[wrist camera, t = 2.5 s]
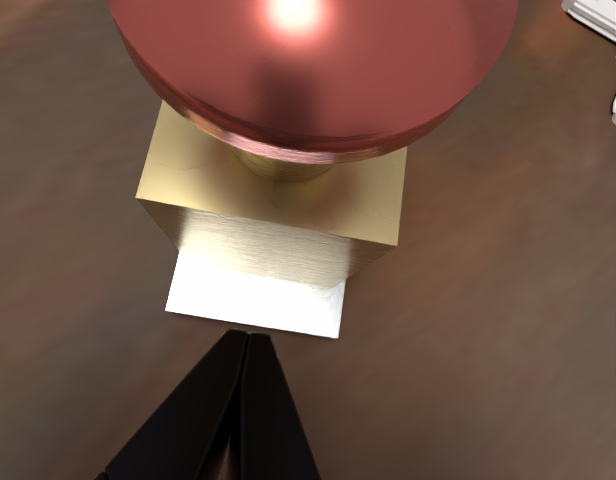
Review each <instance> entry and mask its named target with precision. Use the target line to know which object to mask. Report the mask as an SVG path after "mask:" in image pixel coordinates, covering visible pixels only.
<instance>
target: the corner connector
mask: <svg viewBox="0 0 616 480" xmlns="http://www.w3.org/2000/svg"><path fill="white" fill-rule="evenodd" d="M561 7H562V9H563V10H564V11H566V12H567V13H569V14H570V15H572V16H573V17H574V18H575V19H577V20H578V21H580V22H582V23H584V24H585V25H587V26H589V27H590V28H592V29H594V30H596V31H597V32H599V33H601V34H602V35H604V36H606V37H607V38H609V39H611V40H613V41H614V42H616V2H614V1H613V0H563V2H562V4H561ZM615 58H616V57H615ZM612 112H614V113H613V116H612V121H613V123H614V124H615V125H616V97H615V100H614V102H613V111H612Z"/></svg>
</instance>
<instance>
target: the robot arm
mask: <svg viewBox="0 0 616 480" xmlns="http://www.w3.org/2000/svg"><path fill="white" fill-rule="evenodd" d="M248 336H249V337H248ZM231 428H232V429H231ZM230 433H231V435H230ZM229 438H230V441H229ZM228 442H229V449H228V460H227V474H226V480H321V477H320V475H319V472H318V469H317V466H316V463H315V460H314V457H313V455H312V452H311V449H310V446H309V443H308V440H307V438H306V435H305V432H304V429H303V426H302V423H301V420H300V418H299V415H298V412H297V409H296V406H295V403H294V400H293V398H292V395H291V392H290V389H289V386H288V383H287V381H286V378H285V375H284V372H283V369H282V366H281V363H280V361H279V358H278V355H277V352H276V349H275V346H274V343H273V341H272V338H271V336H270V335H269V334H265V333H259V332H250V334H249V333H248V331H246V330H240V329H234V328H229V329H227V330H226V331H225V332H224V333H223V335H222V336H221V337H220V338H219V339H218V340H217V341H216V343H215V344H214V345H213V346H212V347H211V348H210V349H209V350H208V352H207V353H206V354H205V355H204V356H203V357H202V358H201V360H200V361H199V362H198V363H197V364H196V365H195V366H194V367H193V369H192V370H191V371H190V372H189V373H188V374H187V375H186V377H185V378H184V379H183V380H182V381H181V382H180V383H179V384H178V386H177V387H176V388H175V389H174V390H173V391H172V392H171V394H170V395H169V396H168V397H167V398H166V399H165V400H164V401H163V403H162V404H161V405H160V406H159V407H158V408H157V409H156V410H155V412H154V413H153V414H152V415H151V416H150V417H149V418H148V420H147V421H146V422H145V423H144V424H143V425H142V426H141V427H140V429H139V430H138V431H137V432H136V433H135V434H134V435H133V437H132V438H131V439H130V440H129V441H128V442H127V443H126V444H125V446H124V447H123V448H122V449H121V450H120V451H119V452H118V454H117V455H116V456H115V457H114V458H113V459H112V460H111V461H110V463H109V464H108V465H107V466H106V467H105V472H101V473H100V474H99V475H98V476H97V477H96V478H95V479H94V480H217V479H218V476H219V473H220V470H221V466H222V463H223V460H224V457H225V453H226V450H227V446H228Z"/></svg>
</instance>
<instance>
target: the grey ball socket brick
mask: <svg viewBox="0 0 616 480" xmlns="http://www.w3.org/2000/svg"><path fill="white" fill-rule="evenodd" d="M345 281H346V280H344V281H343V282H341V283H340V284H338V285H337V286H335V287H334V288H330V287H324V286H318V285H313V284H307V283H301V282H295V281H290V280H284V279H278V278H272V277H266V276H261V275H255V274H249V273H243V272H238V271H232V270H226V269H220V268H215V267H209V266H203V265H197V264H192V263H189V262H188V261H187V259H186V258H185V257H184V256H183V255H182V253H181V252H180V253H179V257H178V261H177V265H176V269H175V273H174V278H173V282H172V286H171V290H170V294H169V298H168V302H167V307H166V311H169V312H172V313H177V314H183V315H189V316H195V317H201V318H208V319H214V320H220V321H226V322H232V323H238V324H244V325H251V326H257V327H263V328H269V329H275V330H281V331H288V332H294V333H300V334H306V335H312V336H318V337H324V338H331V339H335V338H338V334H339V326H340V319H341V311H342V304H343V296H344V288H345Z"/></svg>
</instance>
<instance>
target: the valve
mask: <svg viewBox="0 0 616 480" xmlns="http://www.w3.org/2000/svg"><path fill="white" fill-rule="evenodd" d="M105 1H106V3H107V5H108V8H109V10H110V12H111V15H112V17H113V19H114V21H115V24H116V26H117V28H118V31H119V33H120V35H121V38H122V40H123V42H124V44H125V47H126V49H127V51H128V54H129V55H130V57H131V58H132V60H133V62H134V63H135V65H136V67H137V68H138V70H139V72H140V73H141V75H142V76H143V77H144V78H145V80H146V81H147V82H148V83H149V84H150V86H151V87H152V88H153V89H154V91H155V92H156V93H157V94H158V95H159V96H160V97H161V98H162V99H163V101H162V105H161V109H160V112H159V116H158V119H157V123H156V126H155V130H154V134H153V137H152V141H151V144H150V148H149V152H148V155H147V159H146V162H145V166H144V170H143V173H142V177H141V180H140V184H139V188H138V191H137V195H136V198H137V200H138V201H139V202H140V203H141V205H142V206H143V207H144V208H145V209H146V211H147V212H148V213H149V214H150V216H151V217H152V218H153V219H154V220H155V222H156V223H157V224H158V225H159V227H160V228H161V229H162V230H163V231H164V233H165V234H166V235H167V236H168V237H169V239H170V240H171V241H172V242H173V244H174V245H175V246H176V247H177V248H178V250H179V251H180V252H181V253H182V255H183V256H184V257H185V258H186V259H187V261H188V262H189V263H192V264H197V265H203V266H209V267H215V268H220V269H226V270H232V271H238V272H243V273H249V274H255V275H261V276H266V277H272V278H278V279H284V280H290V281H295V282H301V283H307V284H313V285H318V286H324V287H330V288H334V287H335V286H337V285H338V284H340V283H341V282H343V281H344V280H346V279H347V278H349V277H351V276H352V275H354V274H355V273H357V272H358V271H360V270H361V269H363V268H364V267H366V266H367V265H369V264H370V263H372V262H373V261H375V260H376V259H378V258H380V257H381V256H383V255H384V254H386V253H387V252H389V251H390V250H392V249H393V248H395V247H396V246H397V242H398V232H399V222H400V213H401V203H402V193H403V183H404V173H405V163H406V153H407V146H408V145H410V144H412V143H413V142H415V141H417V140H419V139H420V138H422V137H424V136H426V135H427V134H429V133H430V132H431V131H432V130H434V129H435V128H436V127H438V126H439V125H440V124H441V123H443V122H444V121H445V120H446V119H447V118H448V117H449V116H450V115H451V114H452V113H453V112H454V111H455V109H456V108H457V107H458V106H459V105H460V104H461V103H462V102H463V101H464V99H465V98H466V97H467V96H468V95H469V94H470V93H471V92H472V90H473V89H474V88H475V87H476V86H477V85H478V84H479V82H480V81H481V80H482V79H483V78H484V77H485V76H486V74H487V73H488V72H489V71H490V70H491V68H492V67H493V65H494V64H495V62H496V61H497V59H498V58H499V56H500V55H501V53H502V52H503V50H504V48H505V45H506V43H507V41H508V39H509V37H510V35H511V32H512V29H513V26H514V22H515V18H516V15H517V11H518V2H519V0H105Z"/></svg>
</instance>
